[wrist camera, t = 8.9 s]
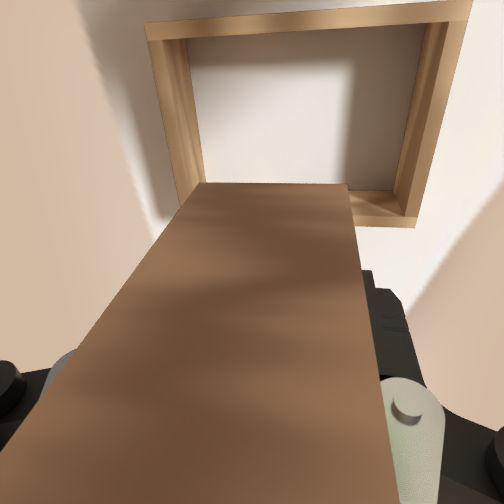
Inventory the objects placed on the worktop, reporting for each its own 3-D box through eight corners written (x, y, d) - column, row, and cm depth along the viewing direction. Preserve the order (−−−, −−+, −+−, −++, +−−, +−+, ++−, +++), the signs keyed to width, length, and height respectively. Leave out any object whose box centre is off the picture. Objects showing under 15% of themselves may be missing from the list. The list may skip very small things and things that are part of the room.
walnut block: (347, 184, 11) (431, 690, 3) (334, 299, 14) (356, 711, 5) (198, 182, 12) (-82, 562, 3) (216, 290, 14) (84, 638, 6)
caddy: (446, 2, 23) (473, -2, 19) (402, 201, 31) (414, 228, 27) (170, 22, 26) (143, 22, 22) (198, 197, 35) (183, 220, 30)
